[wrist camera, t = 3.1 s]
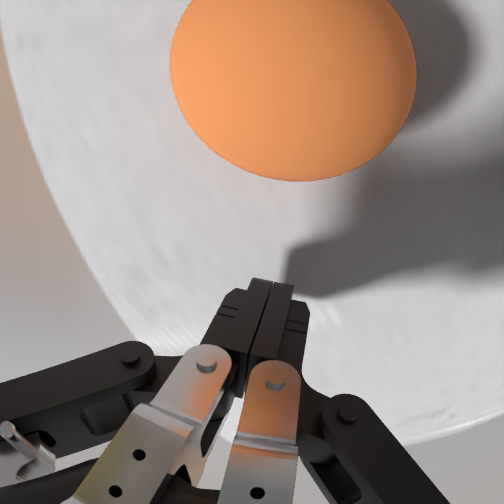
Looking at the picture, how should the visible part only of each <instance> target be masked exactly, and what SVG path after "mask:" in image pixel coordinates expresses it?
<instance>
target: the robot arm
mask: <svg viewBox="0 0 504 504" xmlns="http://www.w3.org/2000/svg"><path fill="white" fill-rule="evenodd" d="M293 289H294V286H293V285H288V284H283V283H278V282H274V284H273V281H268V280H263V279H258V278H252V280H251V282H250V285H249V287H248V289H247V290H243V289H239V288H235V289H234V290H232V291H231V292H229V293H228V294H227V295H226V296H225V298H224V300H223V301H222V303H221V306H220V307H219V309H218V311H217V313H216V315H215V316H214V318H213V320H212V322H211V324H210V326H209V328H208V330H207V332H206V334H205V335H204V337H203V339H202V341H201V343H200V345H197V346H194V347H192V348H190V349H189V350H188V351H186V353H185V354H184V355H182V356H173V357H172V356H154V353H153V351H152V349H151V348H150V347H149V346H148V345H146V344H145V343H142V342H139V341H127V342H124V343H120V344H117V345H115V346H112V347H109V348H107V349H103V350H101V351H98V352H95V353H92V354H89V355H86V356H83V357H80V358H77V359H74V360H71V361H68V362H66V363H63V364H60V365H56V366H53V367H50V368H47V369H44V370H41V371H38V372H35V373H32V374H28V375H26V376H22V377H19V378H16V379H12V380H9V381H6V382H3V383H0V504H292V503H293V502H292V501H293V495H294V487H295V479H296V471H297V462H298V456H300V458H301V461H302V463H303V464H304V466H305V467H306V469H307V471H308V472H309V474H310V475H311V477H312V478H313V479H314V481H315V482H316V484H317V485H318V487H319V489H320V490H321V492H322V493H323V495H324V496H325V498H326V499H327V500H328V502H329V503H330V504H450V503H449V502H448V500H447V499H446V498H445V497H444V496H443V494H442V493H441V492H440V491H439V490H438V488H437V487H436V486H435V485H434V484H433V482H432V481H431V480H430V479H429V478H428V476H427V475H426V474H425V473H424V472H423V471H422V469H421V468H420V467H419V466H418V465H417V463H416V462H415V461H414V460H413V458H411V456H410V455H409V454H408V452H407V451H406V450H405V449H404V448H403V446H402V445H401V444H400V443H399V442H398V440H397V439H396V438H395V437H394V435H393V434H392V433H391V432H390V431H389V429H388V428H387V427H386V426H385V425H384V423H383V422H382V421H381V420H380V419H379V417H378V416H377V415H376V414H375V412H374V411H373V410H372V409H371V408H370V406H369V405H368V404H367V403H366V402H365V401H364V400H363V399H361V398H359V397H358V396H355V395H351V394H339V395H336V396H333V397H332V398H329V397H327V396H325V395H323V394H321V393H319V392H317V391H315V390H314V389H312V388H311V387H310V386H309V385H308V384H307V383H306V382H305V380H304V378H303V375H302V362H303V356H304V350H305V344H306V337H307V331H308V324H309V317H310V311H309V309H308V307H307V304H306V302H301V301H296V300H291V299H292V294H293ZM244 392H245V397H244V403H243V408H242V412H241V416H240V420H239V425H238V429H237V433H236V436H235V437H234V440H233V444H232V448H231V452H230V456H229V460H228V464H227V468H226V472H225V476H224V479H223V483H222V487H221V490H210V489H200V488H196V487H197V485H198V483H199V481H200V479H201V476H202V474H203V471H204V467H205V463H206V461H207V458H208V456H209V454H210V452H211V450H212V448H213V446H214V444H215V442H216V440H217V438H218V436H219V434H220V432H221V430H222V428H223V426H224V423H225V421H226V419H227V417H228V414H229V410H230V408H231V406H232V403H233V400H234V397H238V398H243V395H244ZM110 440H112V441H111V442H110V444H109V445H108V446H107V448H106V449H105V451H104V452H103V453H102V455H101V456H100V458H96V459H92V460H88V461H85V462H82V463H80V464H77V465H74V466H71V467H69V468H66V469H63V470H60V471H57V472H54V471H55V459H57V458H60V457H64V456H67V455H70V454H73V453H76V452H79V451H82V450H85V449H88V448H91V447H94V446H97V445H99V444H102V443H105V442H108V441H110ZM144 458H145V459H144ZM53 472H54V473H53ZM47 474H48V475H47Z"/></svg>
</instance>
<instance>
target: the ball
mask: <svg viewBox="0 0 504 504" xmlns="http://www.w3.org/2000/svg"><path fill="white" fill-rule="evenodd" d="M170 74H171V82H172V86H173V90H174V94H175V98H176V100H177V103H178V105H179V108H180V110H181V112H182V114H183V116H184V117H185V119H186V121H187V123H188V124H189V126H190V127H191V128H192V130H193V131H194V132H195V134H196V135H197V136H198V137H199V138H200V139H201V140H202V141H203V142H204V143H205V144H206V145H207V146H208V147H209V148H210V149H211V150H213V151H214V152H215V153H216V154H217V155H219V156H220V157H222V158H224V159H225V160H227V161H228V162H230V163H231V164H233V165H235V166H237V167H239V168H241V169H243V170H246V171H248V172H251V173H253V174H256V175H259V176H262V177H267V178H271V179H276V180H284V181H314V180H322V179H327V178H331V177H335V176H338V175H342V174H344V173H347V172H349V171H351V170H354V169H356V168H358V167H360V166H361V165H363V164H365V163H367V162H368V161H370V160H371V159H372V158H374V157H375V156H376V155H378V154H379V153H380V152H382V151H383V150H384V149H385V148H386V147H387V146H388V145H389V144H390V143H391V142H392V140H393V139H394V138H395V136H396V135H397V134H398V132H399V131H400V130H401V128H402V126H403V124H404V123H405V121H406V119H407V117H408V115H409V112H410V109H411V107H412V104H413V101H414V96H415V91H416V83H417V66H416V58H415V53H414V49H413V45H412V41H411V38H410V36H409V34H408V31H407V29H406V27H405V24H404V23H403V21H402V19H401V18H400V16H399V14H398V13H397V11H396V10H395V8H394V7H393V6H392V5H391V4H390V2H389V1H388V0H192V2H191V3H190V4H189V6H188V7H187V9H186V10H185V12H184V13H183V15H182V17H181V19H180V21H179V23H178V26H177V28H176V31H175V34H174V37H173V41H172V46H171V53H170Z"/></svg>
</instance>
